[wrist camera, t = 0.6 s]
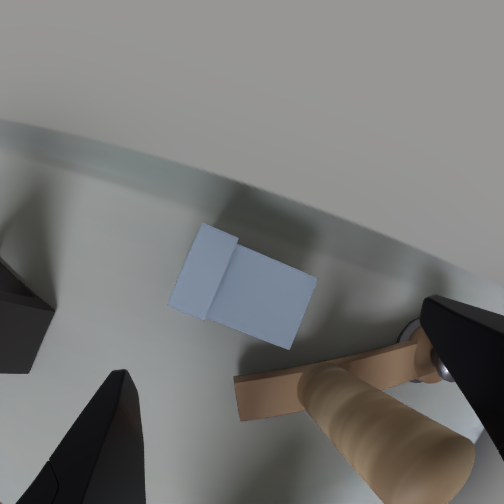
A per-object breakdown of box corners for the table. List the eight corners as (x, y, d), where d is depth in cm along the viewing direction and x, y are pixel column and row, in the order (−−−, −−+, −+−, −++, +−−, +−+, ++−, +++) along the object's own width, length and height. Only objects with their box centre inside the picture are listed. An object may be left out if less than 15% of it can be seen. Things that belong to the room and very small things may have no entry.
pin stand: (453, 345, 24) (489, 353, 19) (415, 394, 23) (449, 409, 18) (424, 302, 24) (462, 304, 19) (382, 353, 23) (416, 365, 18)
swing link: (446, 316, 23) (588, 326, 9) (447, 369, 23) (578, 405, 9) (231, 362, 21) (264, 484, 7) (240, 425, 20) (279, 575, 6)
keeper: (300, 279, 23) (330, 277, 17) (276, 339, 22) (298, 357, 16) (205, 239, 22) (202, 222, 16) (179, 299, 21) (167, 305, 16)
